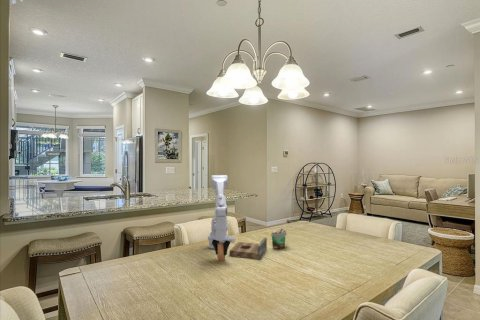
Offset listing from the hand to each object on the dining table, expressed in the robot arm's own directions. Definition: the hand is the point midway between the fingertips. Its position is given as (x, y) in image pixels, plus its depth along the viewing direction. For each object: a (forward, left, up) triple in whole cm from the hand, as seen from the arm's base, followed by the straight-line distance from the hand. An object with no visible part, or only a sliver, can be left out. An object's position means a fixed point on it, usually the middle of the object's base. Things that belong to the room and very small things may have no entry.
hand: (221, 254), depth 140 cm
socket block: (+11, +15, -3) cm, 19 cm away
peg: (0, 0, -3) cm, 3 cm away
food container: (+27, +29, -3) cm, 40 cm away
